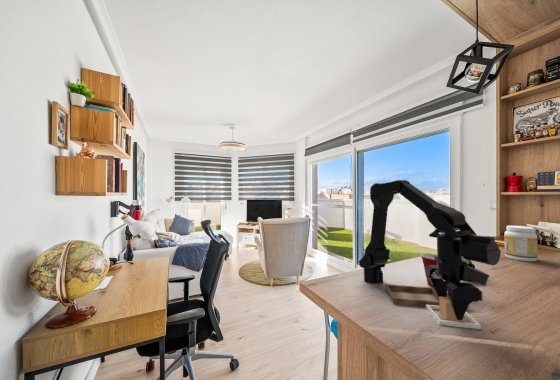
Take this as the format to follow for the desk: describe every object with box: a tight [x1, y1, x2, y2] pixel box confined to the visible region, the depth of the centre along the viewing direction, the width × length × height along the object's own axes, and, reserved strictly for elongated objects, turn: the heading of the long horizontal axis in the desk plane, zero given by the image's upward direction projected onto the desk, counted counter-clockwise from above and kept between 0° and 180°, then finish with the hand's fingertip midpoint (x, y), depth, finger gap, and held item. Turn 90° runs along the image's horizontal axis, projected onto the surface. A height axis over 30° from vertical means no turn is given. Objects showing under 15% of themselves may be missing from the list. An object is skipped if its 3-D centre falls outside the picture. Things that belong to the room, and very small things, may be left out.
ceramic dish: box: [425, 304, 482, 330], centre depth 64 cm, size 9×9×2 cm
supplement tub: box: [503, 225, 539, 262], centre depth 122 cm, size 12×12×17 cm
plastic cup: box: [420, 253, 437, 288], centre depth 86 cm, size 11×11×12 cm
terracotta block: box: [439, 296, 464, 322], centre depth 64 cm, size 4×4×5 cm
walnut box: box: [384, 283, 439, 308], centre depth 76 cm, size 15×11×2 cm
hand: (450, 310), depth 64 cm, fingers open, 9 cm apart
